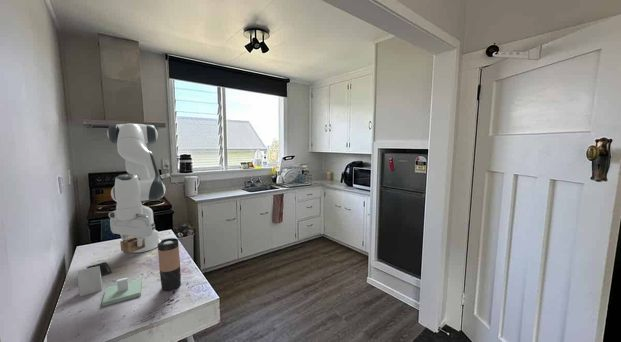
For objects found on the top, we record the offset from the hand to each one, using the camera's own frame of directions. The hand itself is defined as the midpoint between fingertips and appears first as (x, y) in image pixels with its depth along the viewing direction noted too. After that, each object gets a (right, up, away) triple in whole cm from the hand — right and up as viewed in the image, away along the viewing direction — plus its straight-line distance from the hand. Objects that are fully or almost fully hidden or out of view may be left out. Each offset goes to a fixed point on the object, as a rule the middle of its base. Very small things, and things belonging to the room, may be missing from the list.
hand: (132, 245), depth 106 cm
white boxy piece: (-15, -19, -2) cm, 24 cm away
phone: (-27, -17, +14) cm, 35 cm away
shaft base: (-1, -19, -4) cm, 19 cm away
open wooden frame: (0, -2, 0) cm, 2 cm away
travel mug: (+16, -18, +1) cm, 24 cm away
